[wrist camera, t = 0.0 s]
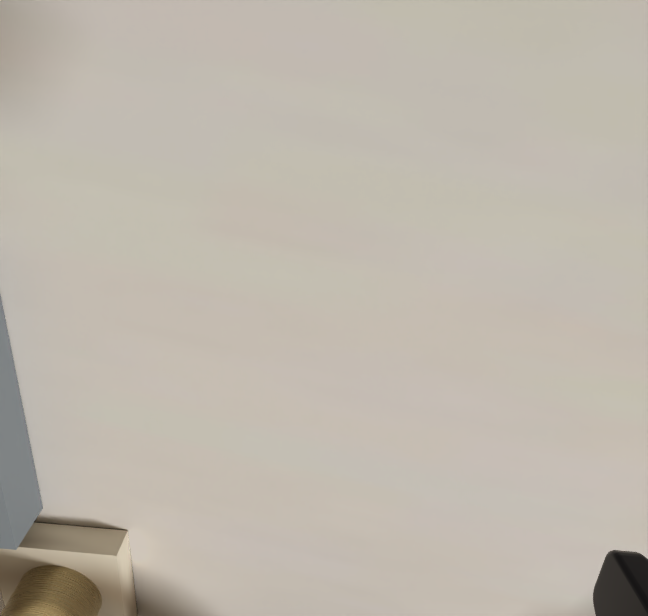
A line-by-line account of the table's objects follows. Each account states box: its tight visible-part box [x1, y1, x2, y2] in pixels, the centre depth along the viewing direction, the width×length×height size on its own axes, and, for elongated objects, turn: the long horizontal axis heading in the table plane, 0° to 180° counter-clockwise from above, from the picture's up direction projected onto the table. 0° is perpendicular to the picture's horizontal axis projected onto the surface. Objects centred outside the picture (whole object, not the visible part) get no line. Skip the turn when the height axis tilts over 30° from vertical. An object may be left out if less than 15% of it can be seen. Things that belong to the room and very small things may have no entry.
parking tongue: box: [0, 522, 138, 616], centre depth 30 cm, size 6×6×2 cm
